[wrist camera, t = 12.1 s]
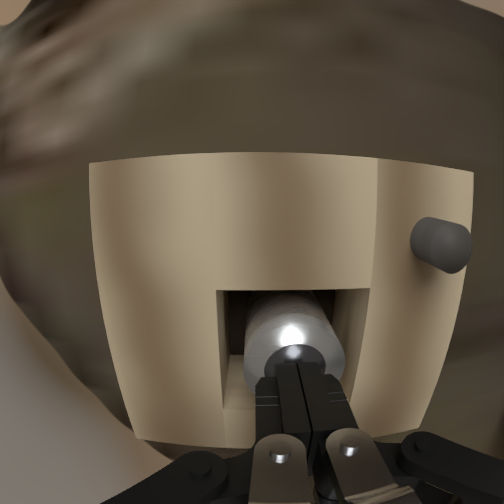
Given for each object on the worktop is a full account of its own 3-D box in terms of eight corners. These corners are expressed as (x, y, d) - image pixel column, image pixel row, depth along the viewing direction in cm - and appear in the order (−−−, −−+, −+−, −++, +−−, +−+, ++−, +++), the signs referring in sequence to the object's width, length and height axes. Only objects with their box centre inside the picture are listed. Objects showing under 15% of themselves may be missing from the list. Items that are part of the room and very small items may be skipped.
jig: (420, 172, 15) (502, 173, 8) (390, 382, 18) (431, 449, 11) (135, 167, 15) (61, 161, 8) (158, 387, 18) (126, 463, 11)
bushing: (319, 275, 16) (352, 323, 10) (314, 339, 17) (337, 404, 11) (246, 275, 16) (242, 325, 10) (246, 340, 17) (243, 408, 11)
